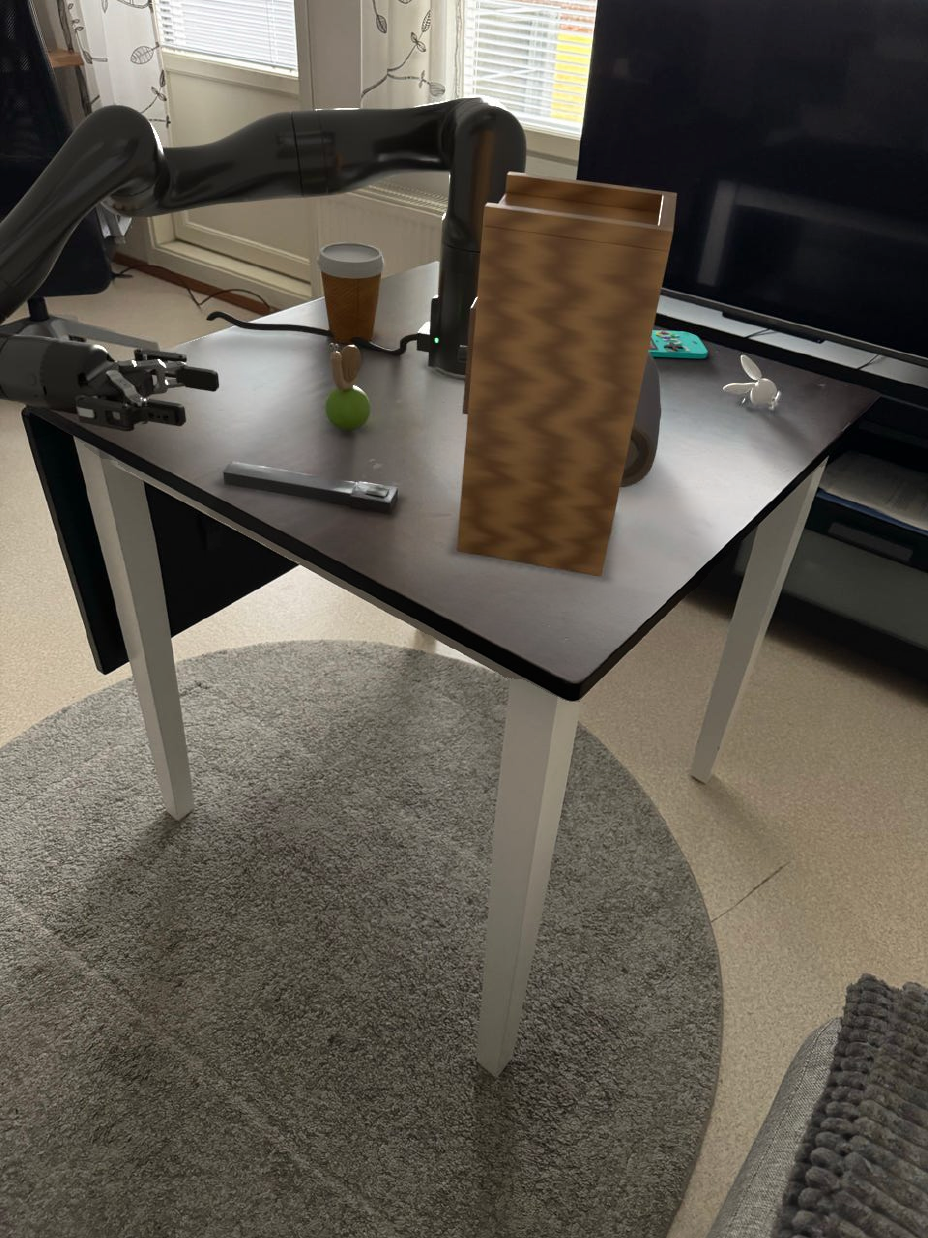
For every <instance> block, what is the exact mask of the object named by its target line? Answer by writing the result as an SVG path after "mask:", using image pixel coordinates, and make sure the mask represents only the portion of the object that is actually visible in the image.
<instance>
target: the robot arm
mask: <svg viewBox="0 0 928 1238" xmlns="http://www.w3.org/2000/svg"><path fill="white" fill-rule="evenodd" d="M527 148H528V147H527V138H526V133H525V130H524V127H523V126H522V124H521V122H520V120H519V119H518V118H517V117H516V115H514V114H513V113H512V112H511V111H510V110H509V109H508V108H506V107H505V106H504V104H502V103H501V102H499V101H498V100H496V99H494V98H492V97H489V96H485V95H469V96H463V97H458V98H453V99H450V100H445V101H440V102H434V103H428V104H423V105H418V106H411V107H404V108H403V107H402V108H367V107H366V108H365V107H363V108H360V107H359V108H354V107H353V108H318V109H314V108H313V109H303V110H301V109H300V110H291V111H289V110H286V111H279V112H274V113H271V114H268V115H266V116H263V117H261V118H259V119H256V120H254V121H252V122H250V123H248V124H246V125H244V126H243V127H240V128H239V129H238V130H236V131H234V132H232V133H230V134H229V135H227V136H224V137H223V138H221V139H218V140H216V141H215V140H214V141H212V142H208V143H204V144H197V145H188V146H162V145H161V142H160V139H159V136H158V133H157V132H156V130H155V128H154V126H153V125H152V123H151V121H150V119H148V118H147V117H146V115H144V114H143V113H142V112H140V111H139V110H137V109H135V108H132V107H130V106H127V105H123V104H111V105H110V104H109V105H104V106H102V107H99V108H97V109H95V110H93V111H92V112H91V113H90V114H88V115H87V116H86V117H85V118H84V119H83V120H82V121H81V122H80V123H79V124H78V125H77V127H76V128H75V129H74V130H73V131H72V133H71V134H70V136H69V137H68V138H67V139H66V141H65V143H64V144H63V145H62V147H61V148H60V149H59V151H58V152H57V153H56V155H55V156H54V157H53V159H51V161H50V163H49V164H48V165H47V166H46V167H45V169H44V170H43V171H42V172H41V174H40V175H39V176H38V177H37V179H36V180H35V182H34V183H33V184H32V185H31V187H29V189H28V190H27V192H26V193H25V194H24V196H23V197H22V198H21V199H20V200H19V202H18V203H17V204H16V205H15V206H14V208H13V209H12V210H10V212H9V213H8V215H6V216H5V217H4V219H3V220H2V221H1V222H0V326H1V325H2V324H4V323H5V322H6V321H7V320H8V319H9V318H10V317H12V316H13V314H15V313H16V312H17V311H18V310H19V309H20V308H21V307H22V306H23V305H24V304H25V303H26V302H27V301H28V300H29V299H31V297H32V296H33V295H34V294H35V293H36V292H37V291H38V289H39V288H41V286H42V284H44V282H45V281H46V279H47V278H48V276H49V275H50V273H51V271H52V270H53V268H54V266H55V265H56V262H57V260H58V259H59V256H60V254H61V253H62V251H63V249H64V247H65V245H66V244H67V242H68V240H69V239H70V237H71V236H72V234H73V232H74V231H75V230H76V229H77V227H78V226H79V225H80V223H81V222H82V221H83V219H85V217H86V216H87V215H88V214H89V213H90V212H91V211H92V210H93V209H94V208H95V207H96V206H97V205H99V204H100V205H102V207H103V208H105V209H106V210H107V211H109V212H110V213H112V214H114V215H117V216H120V217H123V218H128V219H146V218H152V217H158V216H159V217H160V216H164V215H169V214H173V213H180V212H184V211H189V210H195V209H199V208H205V207H210V206H216V205H217V206H218V205H227V204H240V203H251V202H261V201H270V200H283V199H302V198H303V199H305V198H317V197H329V196H337V195H342V194H346V193H347V194H349V193H351V192H355V191H358V190H361V189H365V188H367V187H370V186H372V185H375V184H378V183H380V182H382V181H385V180H389V179H391V178H395V177H398V176H402V175H409V174H424V173H425V174H426V173H427V174H428V173H429V174H431V173H432V174H435V173H436V174H438V173H440V174H449V180H448V195H447V206H446V211H445V213H444V214H443V216H442V218H441V224H440V240H439V241H440V244H439V262H438V263H439V264H438V283H437V295H435V296H434V297H432V298H431V301H430V315H429V316H430V317H429V321H425V323H424V324H423V326H421V327H420V329H419V330H418V331H417V333H410V334H407V335H404V336H403V337H402V338H401V339H400V341H399V348H397V349H387V348H384V347H381V346H379V345H378V344H375V343H373V342H371V341H370V340H369V341H367V340H365V339H362V338H360V337H354V338H351V339H350V341H351V342H353V343H356V344H355V345H358V346H361V347H364V348H366V349H368V350H371V351H375V352H378V353H382V354H386V355H390V356H395V357H398V356H399V357H400V356H403V355H404V354H406V352H407V344H408V343H410V342H414V341H415V342H416V351H417V352H424V353H428V357H427V358H428V359H427V366H428V367H430V368H433V369H435V371H436V372H437V373H439V374H440V375H442V376H445V377H446V378H450V379H454V380H458V381H459V380H460V381H465V373H466V362H461V361H459V360H458V353H459V348H460V346H468V334H469V321H470V308H471V307H472V305H473V303H474V301H475V300H476V298H477V292H478V280H479V268H480V255H481V243H482V230H483V217H484V206H485V205H486V204H487V203H494V204H498V203H499V202H500V200H501V199H502V197H503V196H504V194H505V193H506V192H505V191H506V180H507V174H508V173H509V171H510V172H518V173H526V166H527V165H526V164H527V151H528V150H527ZM216 319H222V320H224V321H226V322H228V323H230V324H231V325H233V326H235V327H237V328H241V329H244V330H250V331H251V330H252V331H265V332H267V331H271V332H272V331H273V332H275V331H277V332H280V331H281V332H282V331H283V332H298V333H305V334H313V335H319V336H323V337H328V338H331V339H332V338H334V334H333V333H332V332H331V331H330V330H329V329H327V328H323V327H316V326H311V325H303V324H294V323H263V322H262V323H260V322H250V321H243V320H240V319H238V318H236V317H234V316H232V315H231V314H229V313H228V312H225V311H223V310H215V311H212V312H211V313H209V314H208V315H207V317H206V318H205V320H206V321H208V322H213V321H214V320H216ZM133 355H134V358H133V360H132V359H128V360H116V359H114V358H113V357H112V356H111V355H110V354H109V352H108V351H107V350H106V349H105V348H104V347H103V346H101V345H99V344H96V343H95V344H94V343H88V342H82V341H77V340H69V339H63V338H56V337H50V336H49V337H48V336H44V335H22V334H14V333H9V332H2V331H0V400H3V401H8V402H10V401H11V402H15V403H20V404H23V405H26V406H29V407H33V408H38V409H42V410H43V409H44V410H49V411H55V412H62V413H68V414H72V415H73V414H74V415H78V419H79V423H83V424H87V425H92V426H97V427H101V428H107V429H112V430H117V431H122V432H132V431H134V430H135V429H136V428H135V425H140V426H141V425H142V426H143V425H147V424H148V423H149V422H150V423H156V424H161V425H167V426H168V425H170V426H174V427H175V426H176V427H183V426H184V425H185V423H186V422H187V417H186V415H187V414H186V408H185V406H184V405H183V404H182V403H177V402H172V401H166V400H161V399H160V400H159V399H155V398H149V397H150V396H154V395H161V394H166V393H167V392H168V390H169V389H174V388H175V389H176V388H182V387H184V388H189V389H192V390H193V389H194V390H201V391H207V392H211V393H212V392H215V393H216V391H218V389H219V388H220V379H219V373H218V372H217V370H214V369H209V368H203V367H196V366H192V365H191V366H190V365H189V363H188V355H186V354H185V353H178V352H171V351H170V352H169V351H162V350H155V349H154V350H153V349H145V348H135V349H134V350H133ZM153 376H155V377H156V383H155V384H154V378H153ZM166 378H170V379H166ZM147 398H148V400H146V399H147ZM114 413H116V414H117V413H118V414H119V418H120V419H118V418H115V416H114Z"/></svg>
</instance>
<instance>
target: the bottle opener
mask: <svg viewBox="0 0 928 1238" xmlns="http://www.w3.org/2000/svg"><path fill="white" fill-rule="evenodd" d="M222 475H223V483H224V484H225V485H229V486H234V487H239V488H240V487H241V488H246V489H253V490H258V491H263V492H268V493H273V494H274V493H275V494H281V495H286V496H292V497H297V498H303V499H309V500H315V501H320V502H325V503H332V504H338V505H343V506H349V508H350V509H353V510H360V511H365V512H371V513H375V514H382V515H389V516H390V515H392V512H393V510H394V508H395V506H396V504H397V502H398V500H399V499H398V498H399V487H396V486H389V485H386V484H385V485H383V484H377V483H373V482H367V481H361V480H358V481H357V482H354V481H348V480H344V479H337V478H333V477H332V478H331V477H325V476H320V475H313V474H309V473H308V474H307V473H302V472H298V471H297V472H296V471H291V470H286V469H279V468H274V467H273V468H272V467H267V466H263V465H262V466H261V465H256V464H250V463H243V462H239V461H233V460H232V461H230V463H229V464H228V465H227V466H226V467H225V469H224V470H223V471H222Z"/></svg>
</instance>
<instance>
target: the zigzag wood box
mask: <svg viewBox="0 0 928 1238" xmlns="http://www.w3.org/2000/svg"><path fill="white" fill-rule="evenodd" d="M505 192H506V193H505V194H504V196H503V197H502V199H501V200H500V202H499V203H498V204H494V203H487V204H486V205H485V206H484V217H483V230H482V243H481V255H480V268H479V280H478V292H477V298H476V300H475V301H474V303H473V305H472V307H471V308H470V321H469V334H468V346H460V348H459V353H458V360H459V361H461V362H466V373H465V380H464V387H463V398H462V399H463V401H462V415H467V417H466V430H465V441H464V442H465V444H464V455H463V468H462V482H461V492H460V493H461V494H460V505H459V506H460V507H459V518H458V529H457V531H458V532H457V541H456V551H457V552H462V553H467V554H473V555H477V556H482V557H483V556H484V557H488V558H489V557H490V558H495V559H501V560H506V561H510V562H511V561H512V562H516V563H517V562H518V563H523V564H528V565H535V566H540V567H546V568H550V569H555V570H562V571H566V572H567V571H568V572H573V573H578V574H583V575H589V576H596V577H602V576H603V572H604V568H605V563H606V559H607V558H606V557H607V552H608V547H609V544H610V538H611V534H612V530H613V523H614V518H615V514H616V510H617V505H618V500H619V495H620V491H621V488H620V486H621V481H622V476H623V471H624V466H625V462H626V457H627V452H628V447H629V442H630V438H631V433H632V428H633V423H634V418H635V413H636V409H637V404H638V399H639V394H640V389H641V385H642V380H643V375H644V370H645V365H646V360H647V356H648V351H649V346H650V341H651V336H652V331H653V330H654V326H655V323H656V317H657V311H658V306H659V302H660V297H661V293H662V288H663V283H664V278H665V273H666V269H667V263H668V259H669V255H670V254H669V253H670V250H671V244H672V240H673V235H674V229H675V228H674V227H675V217H676V206H677V198H678V193H677V192H672V191H664V190H655V189H647V188H640V187H632V186H624V185H617V184H610V183H603V182H595V181H587V180H579V179H572V178H571V179H570V178H563V177H557V176H549V175H541V174H534V173H526V172H525V173H518V172H510V171H509V173H508V174H507V180H506V191H505Z"/></svg>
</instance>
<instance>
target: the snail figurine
mask: <svg viewBox="0 0 928 1238" xmlns="http://www.w3.org/2000/svg"><path fill="white" fill-rule="evenodd" d="M328 347H329V348H330V356H329V360H330V363H331V374H332V379H333V383H334V385H335V387H334V388H333V389H331V391H330V392H329V394H328V395H327V397H326V399H325V404H324V405H325V407H324V410H325V415H326V417H327V419H328V420H329V422H330V423H331V424H332V425H333V426H334V427H336V428H337V429H339V430H342V431H347V432H348V431H350V432H351V431H354V430H357V429H360V428H361V427H363V426H364V425H365V424H366V423H367V421H368V419H369V417H370V414H371V403H370V399H369V397H368V395H367V394H366V393H365V391H364V390H363V389H361V388H360V387H358V386H357V385H356V383H357V380H358V376H359V371H360V369H361V364H362V363H361V362H362V361H361V353H360V350H359V348H358V347H357V346H356V345H355V344H348V345H345V346H344V347H343V348H342V349H341V351H340V352H339V351H338V350H339V348H340V346H339V344H337V343H335V344H334V343H332V342H330V343H329V344H328ZM332 349H335V351H333V352H332Z"/></svg>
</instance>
